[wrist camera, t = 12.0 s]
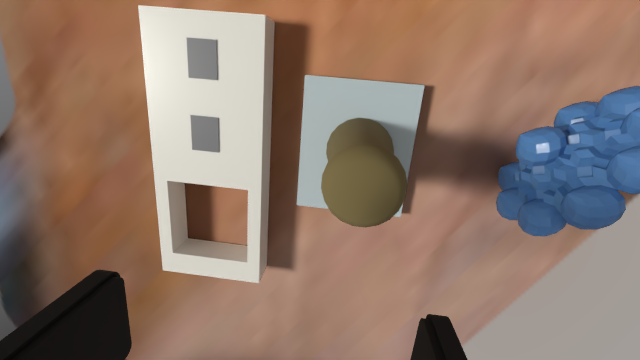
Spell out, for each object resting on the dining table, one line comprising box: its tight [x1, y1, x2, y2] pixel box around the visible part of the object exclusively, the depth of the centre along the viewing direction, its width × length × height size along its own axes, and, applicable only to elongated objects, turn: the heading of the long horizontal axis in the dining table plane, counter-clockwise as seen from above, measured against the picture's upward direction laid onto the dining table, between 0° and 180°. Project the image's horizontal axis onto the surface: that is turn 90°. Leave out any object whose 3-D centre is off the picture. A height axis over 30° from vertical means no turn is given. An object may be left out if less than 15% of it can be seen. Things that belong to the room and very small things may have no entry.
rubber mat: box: [297, 75, 425, 217], centre depth 28 cm, size 12×10×1 cm
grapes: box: [496, 86, 640, 236], centre depth 21 cm, size 12×7×12 cm, turn 152°
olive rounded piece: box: [321, 118, 408, 227], centre depth 22 cm, size 6×6×11 cm
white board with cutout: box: [138, 5, 275, 283], centre depth 29 cm, size 24×10×3 cm, turn 175°
